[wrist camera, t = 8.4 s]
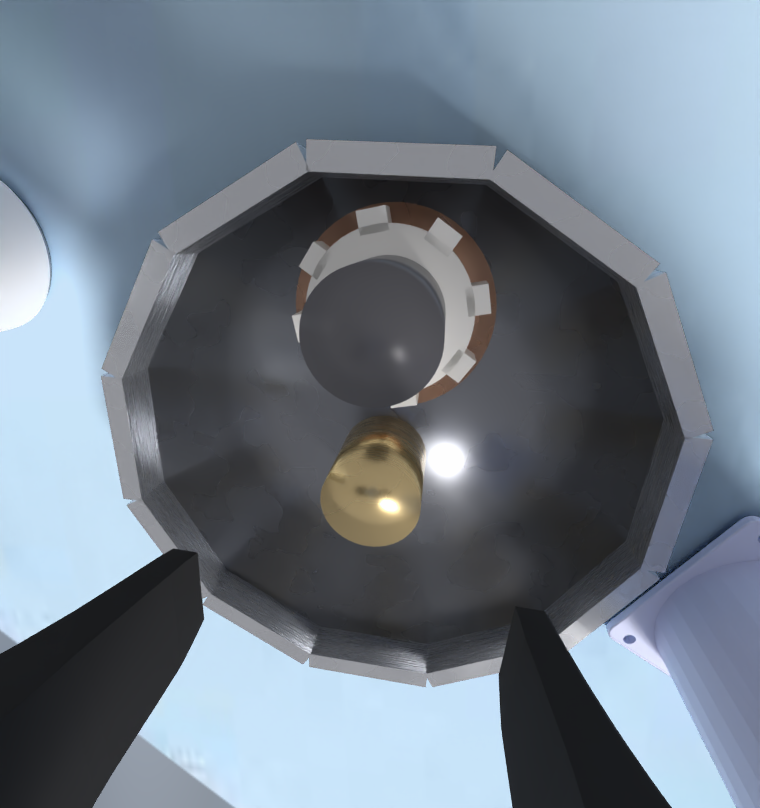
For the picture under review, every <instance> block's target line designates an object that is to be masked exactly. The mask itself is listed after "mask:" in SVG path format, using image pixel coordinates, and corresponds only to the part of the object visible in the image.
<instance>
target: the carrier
mask: <svg viewBox="0 0 760 808" xmlns="http://www.w3.org/2000/svg"><path fill="white" fill-rule="evenodd" d="M495 153H496V146H484V145H456V144H428V143H400V142H372V141H344V140H316V139H306V148H305V147H304V146H302V145H300V144H298V143H297V142H295V143H294V144H292V145H291V146H289V147H287V148H286V149H284V150H283V151H281V152H280V153H278V154H277V155H275V156H274V157H272V158H271V159H269V160H268V161H266V162H264V163H263V164H261V165H260V166H258V167H257V168H255V169H254V170H252V171H251V172H249V173H248V174H246V175H245V176H243V177H241V178H240V179H238V180H237V181H235V182H234V183H232V184H231V185H229V186H228V187H226V188H225V189H223V190H222V191H220V192H218V193H217V194H215V195H214V196H212V197H211V198H209V199H208V200H206V201H205V202H203V203H202V204H200V205H199V206H197V207H195V208H194V209H192V210H191V211H189V212H188V213H186V214H185V215H183V216H182V217H180V218H179V219H177V220H176V221H174V222H173V223H171V224H169V225H168V226H166V227H165V228H163V229H162V230H160V231H159V232H158V233H159V235H160V237H161V238H162V239H152V241H151V244H150V246H149V249H148V251H147V254H146V256H145V259H144V261H143V264H142V267H141V269H140V272H139V274H138V277H137V279H136V282H135V284H134V287H133V289H132V292H131V295H130V297H129V300H128V302H127V305H126V307H125V310H124V312H123V315H122V318H121V320H120V323H119V325H118V328H117V330H116V333H115V335H114V338H113V340H112V343H111V346H110V348H109V351H108V353H107V356H106V358H105V361H104V363H103V366H102V369H103V370H105V371H106V372H108V373H107V374H105V375H102V376H101V379H102V385H103V390H104V395H105V401H106V406H107V412H108V417H109V422H110V428H111V433H112V439H113V444H114V450H115V455H116V460H117V466H118V471H119V477H120V482H121V487H122V493H123V498H124V499H130V500H132V501H131V502H130V503H128V504H127V506H128V508H129V509H130V510H131V512H132V513H133V514H134V516H135V517H136V518H137V520H138V521H139V522H140V524H141V525H142V526H143V528H144V529H145V530H146V532H147V533H148V535H149V536H150V537H151V539H152V540H153V541H154V543H155V544H156V545H157V547H158V548H159V549H160V551H161V552H162V553H163V554H165V553H166V552H168V551H170V550H171V549H173V548H174V549H180V550H186V551H192V552H197V553H198V562H199V572H200V583H201V593H202V598H205V597H207V599H206V600H205V602H204V603H203V605H204V606H206V607H208V608H209V609H211V610H213V611H214V612H216V613H218V614H219V615H221V616H223V617H224V618H226V619H228V620H229V621H231V622H233V623H234V624H236V625H238V626H239V627H241V628H243V629H244V630H246V631H248V632H249V633H251V634H253V635H254V636H256V637H258V638H259V639H261V640H263V641H265V642H266V643H268V644H270V645H271V646H273V647H275V648H276V649H278V650H280V651H281V652H283V653H285V654H286V655H288V656H290V657H291V658H293V659H295V660H296V661H298V662H300V663H301V664H304V663H305V661H306V660H307V659H308V658H309V667H313V668H319V669H325V670H330V671H336V672H342V673H348V674H353V675H359V676H365V677H370V678H376V679H382V680H388V681H393V682H399V683H405V684H411V685H416V686H422V687H426V680H427V679H428V680H429V682H430V684H431V685H432V687H435V686H440V685H444V684H449V683H454V682H458V681H463V680H468V679H472V678H477V677H482V676H486V675H491V674H496V673H499V671H500V667H501V663H502V659H503V655H504V651H505V646H506V642H507V638H508V634H509V630H510V626H511V622H512V618H513V613H514V609H515V606H517V607H523V608H529V609H535V610H540V611H545V612H546V614H547V615H548V616H549V618H550V620H551V621H552V623H553V625H554V627H555V629H556V630H557V632H558V634H559V636H560V638H561V639H562V641H563V643H564V645H565V646H566V648H567V650H568V651H569V650H570V649H571V648H572V647H574V646H575V645H576V644H578V643H579V642H580V641H581V640H583V639H584V638H585V637H587V636H588V635H589V634H590V633H592V632H593V631H594V630H596V629H597V628H598V627H599V626H601V625H602V624H603V623H604V622H606V621H607V620H608V619H610V618H611V617H612V616H613V615H615V614H616V613H617V612H619V611H620V610H621V609H622V608H624V607H625V606H626V605H628V604H629V603H630V602H631V601H633V600H634V599H635V598H636V597H638V596H639V595H640V594H642V593H643V592H644V591H645V590H647V589H648V588H649V587H651V586H652V585H653V584H654V583H656V582H657V581H658V580H660V579H659V577H658V575H657V574H656V572H662V573H665V571H666V568H667V565H668V563H669V560H670V557H671V554H672V552H673V549H674V546H675V543H676V541H677V538H678V535H679V532H680V530H681V527H682V524H683V521H684V519H685V516H686V513H687V510H688V508H689V505H690V502H691V499H692V497H693V494H694V491H695V488H696V486H697V483H698V480H699V477H700V475H701V472H702V469H703V466H704V464H705V461H706V458H707V455H708V453H709V450H710V447H711V444H712V442H713V439H712V438H710V437H709V436H708V435H707V434H705V433H708V432H711V431H714V430H713V427H712V424H711V420H710V417H709V414H708V410H707V407H706V404H705V400H704V397H703V394H702V390H701V387H700V384H699V380H698V377H697V374H696V371H695V367H694V364H693V361H692V357H691V354H690V351H689V347H688V344H687V341H686V337H685V334H684V331H683V327H682V324H681V321H680V317H679V314H678V311H677V307H676V304H675V301H674V297H673V294H672V291H671V287H670V284H669V281H668V278H667V274H666V272H661V271H656V270H655V268H656V267H657V266H658V265H659V264H660V263H658V262H657V261H656V260H654V259H653V258H652V257H650V256H649V255H648V254H646V253H645V252H644V251H642V250H641V249H640V248H638V247H637V246H636V245H634V244H633V243H632V242H630V241H629V240H628V239H626V238H625V237H623V236H622V235H621V234H619V233H618V232H617V231H615V230H614V229H613V228H611V227H610V226H609V225H607V224H606V223H605V222H603V221H602V220H601V219H599V218H598V217H597V216H595V215H594V214H593V213H591V212H590V211H589V210H587V209H586V208H585V207H583V206H582V205H581V204H579V203H578V202H577V201H575V200H574V199H573V198H571V197H570V196H569V195H567V194H566V193H565V192H563V191H562V190H561V189H559V188H558V187H557V186H555V185H554V184H553V183H551V182H550V181H549V180H547V179H546V178H545V177H543V176H542V175H540V174H539V173H538V172H536V171H535V170H534V169H532V168H531V167H530V166H528V165H527V164H526V163H524V162H523V161H522V160H520V159H519V158H518V157H516V156H515V155H514V154H512V153H511V152H510V151H508V150H507V151H506V153H505V154H504V155H503V157H502V158H501V160H500V161H499V163H498V164H497V166H496V167H495V169H493V168H494V161H495ZM382 205H387V206H389V207H390V213H391V219H392V223H400V224H406V225H412V226H415V227H418V228H421V229H424V230H426V231H429V230H430V228H431V227H432V225H433V224H434V222H435V221H436V219H437V218H440V219H441V220H442V221H444V222H445V223H446V224H447V225H449V226H450V227H451V228H453V229H454V230H455V231H457V232H458V233H459V234H460V235H462V236H463V237H462V238H461V239H460V241H459V242H458V243H457V245H456V246H455V248H454V249H453V251H454V252H455V254H456V255H457V256H458V258H459V259H460V261H461V262H462V264H463V265H464V268H465V270H466V272H467V274H468V276H469V279H470V282H471V283H473V282H479V281H485V280H486V281H487V282H488V284H489V293H490V304H491V314H485V315H478V316H475V322H474V327H473V332H472V336H471V338H470V341H469V344H468V346H467V349H469V350H470V351H471V352H473V353H474V354H475V358H476V363H475V364H474V365H473V366H472V368H471V369H470V370H469V371H468V372H467V373H466V375H465V376H464V377H463V378H462V379H461V381H460V382H459V383H458V382H456V381H455V380H454V379H452V378H451V377H449V376H448V375H447V374H446V375H445V376H444V377H443V378H441V379H440V380H438V381H437V382H435V383H434V384H432V385H430V386H428V387H426V388H424V389H422V390H421V391H420V392H419V397H418V403H417V405H414V406H406V407H397V408H391V406H388V407H382V408H368V407H361V406H356V405H353V404H350V403H347V402H345V401H343V400H340V399H339V398H337V397H335V396H334V395H332V394H331V393H329V392H328V391H327V390H326V389H324V388H323V387H322V386H321V385H320V384H319V383H318V381H317V380H316V379H315V378H314V376H313V375H312V373H311V372H310V370H309V368H308V367H307V365H306V362H305V360H304V358H303V354H302V351H301V347H300V342H298V339H297V335H296V331H295V327H294V323H293V318H292V315H294V314H296V313H298V312H300V311H302V310H303V307H304V305H305V302H306V296H307V290H308V286H309V282H310V279H311V277H312V276H311V275H310V274H308V273H307V272H306V271H304V270H303V269H301V268H300V267H299V265H300V263H301V262H302V260H303V258H304V257H305V255H306V253H307V252H308V250H309V248H310V246H311V245H312V243H313V242H314V241H323V242H324V243H325V244H327V245H328V246H330V247H331V246H332V245H333V244H334V243H336V242H337V241H338V240H339V239H340V238H342V237H343V236H345V235H347V234H348V233H350V232H352V231H354V230H357V229H359V228H358V222H357V217H356V211H358V210H363V209H368V208H372V207H377V206H382Z"/></svg>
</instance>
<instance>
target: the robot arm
mask: <svg viewBox="0 0 760 808" xmlns="http://www.w3.org/2000/svg"><path fill="white" fill-rule="evenodd" d="M759 536H760V517H757V516H747V517H744V518H743V519H741V520H739V521H738V522H737V523H735V524H734V525H733V526H732V527H730V528H729V529H728V530H726V531H725V532H724V533H723V534H721V535H720V536H719V537H717V538H716V539H715V540H714V541H712V542H711V543H710V544H708V545H707V546H706V547H705V548H703V549H702V550H701V551H699V552H698V553H697V554H696V555H694V556H693V557H692V558H690V559H689V560H688V561H687V562H685V563H684V564H683V565H681V566H680V567H679V568H678V569H676V570H675V571H674V572H672V573H671V574H670V575H669V576H667V577H666V578H665V579H663V580H662V581H661V582H660V583H658V584H657V585H656V586H654V587H653V588H652V589H651V590H649V591H648V592H647V593H645V594H644V595H643V596H642V597H640V598H639V599H638V600H636V601H635V602H634V603H633V604H631V605H630V606H629V607H627V608H626V609H625V610H624V611H622V612H621V613H620V614H618V615H617V616H616V617H615V618H613V619H612V620H611V621H609V623H608V624H607V626H606V629H607V632H608V634H609V637H610V638H611V639H613V640H614V641H616V642H617V643H619V644H620V645H622V646H624V647H625V648H627V649H628V650H630V651H631V652H633V653H634V654H636V655H637V656H639V657H640V658H642V659H644V660H645V661H647V662H648V663H650V664H651V665H653V666H654V667H656V668H657V669H659V670H661V671H662V672H664V673H665V674H667V675H668V676H670V677H671V678H672V679H673V681H674V683H675V685H676V687H677V690H678V692H679V694H680V696H681V698H682V700H683V702H684V704H685V706H686V708H687V710H688V712H689V714H690V716H691V718H692V720H693V722H694V724H695V726H696V728H697V730H698V732H699V734H700V736H701V738H702V740H703V742H704V744H705V746H706V748H707V750H708V752H709V754H710V756H711V758H712V760H713V762H714V764H715V766H716V768H717V770H718V772H719V774H720V776H721V778H722V780H723V782H724V784H725V786H726V788H727V790H728V792H729V794H730V796H731V798H732V800H733V802H734V804H735V806H736V808H760V538H758V537H759ZM203 620H204V614H203V604H202V593H201V583H200V572H199V562H198V553H197V552H192V551H186V550H180V549H174V548H173V549H171V550H170V551H168V552H166V553H165V554H163V555H161V556H160V557H158V558H157V559H155V560H154V561H152V562H150V563H149V564H147V565H146V566H144V567H143V568H141V569H140V570H138V571H136V572H135V573H133V574H132V575H130V576H129V577H127V578H126V579H124V580H123V581H121V582H119V583H118V584H116V585H115V586H113V587H112V588H110V589H108V590H107V591H105V592H104V593H102V594H101V595H99V596H97V597H96V598H94V599H93V600H91V601H89V602H88V603H86V604H85V605H83V606H82V607H80V608H78V609H77V610H75V611H74V612H72V613H70V614H68V615H67V616H65V617H63V618H62V619H60V620H58V621H57V622H55V623H53V624H51V625H50V626H48V627H46V628H45V629H43V630H41V631H40V632H38V633H36V634H34V635H33V636H31V637H29V638H28V639H26V640H24V641H23V642H21V643H19V644H17V645H16V646H14V647H12V648H10V649H9V650H7V651H5V652H3V653H1V654H0V808H92V807H93V806H94V804H95V802H96V800H97V798H98V797H99V795H100V793H101V791H102V790H103V788H104V787H105V785H106V783H107V782H108V780H109V778H110V776H111V775H112V773H113V772H114V770H115V769H116V767H117V765H118V764H119V762H120V761H121V759H122V757H123V756H124V755H125V753H126V751H127V750H128V748H129V747H130V745H131V744H132V742H133V741H134V739H135V737H136V736H137V734H138V733H139V731H140V730H141V728H142V726H143V725H144V723H145V722H146V720H147V719H148V717H149V716H150V714H151V712H152V711H153V709H154V708H155V706H156V705H157V703H158V702H159V700H160V698H161V697H162V695H163V694H164V692H165V691H166V689H167V687H168V686H169V684H170V683H171V681H172V679H173V678H174V676H175V675H176V673H177V671H178V670H179V668H180V667H181V665H182V663H183V661H184V659H185V657H186V655H187V653H188V651H189V649H190V647H191V645H192V643H193V641H194V639H195V637H196V635H197V633H198V631H199V629H200V627H201V625H202V622H203ZM627 635H630V636H627ZM499 692H500V714H501V730H502V737H503V744H504V751H505V758H506V765H507V772H508V779H509V786H510V793H511V800H512V806H513V808H672V807H671V806H670V805H669V803H668V802H667V801H666V799H665V798H664V797H663V795H662V794H661V792H660V791H659V790H658V788H657V787H656V786H655V784H654V783H653V781H652V780H651V779H650V777H649V776H648V774H647V773H646V771H645V770H644V769H643V767H642V766H641V764H640V763H639V761H638V760H637V759H636V757H635V756H634V754H633V753H632V751H631V750H630V748H629V747H628V746H627V744H626V743H625V741H624V740H623V738H622V737H621V735H620V734H619V732H618V731H617V729H616V728H615V726H614V724H613V723H612V721H611V720H610V718H609V717H608V715H607V714H606V712H605V710H604V709H603V707H602V706H601V704H600V703H599V701H598V699H597V698H596V696H595V695H594V693H593V692H592V690H591V688H590V687H589V685H588V683H587V682H586V680H585V679H584V677H583V675H582V674H581V672H580V670H579V669H578V667H577V665H576V663H575V662H574V660H573V658H572V657H571V655H570V653H569V652H568V650H567V648H566V646H565V645H564V643H563V641H562V639H561V638H560V636H559V634H558V632H557V630H556V629H555V627H554V625H553V623H552V621H551V620H550V618H549V616H548V615H547V614H546V612H545V611H540V610H535V609H529V608H523V607H517V606H515V609H514V613H513V618H512V622H511V626H510V630H509V634H508V638H507V642H506V646H505V651H504V655H503V659H502V663H501V667H500V671H499Z"/></svg>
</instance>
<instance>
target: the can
mask: <svg viewBox="0 0 760 808" xmlns="http://www.w3.org/2000/svg"><path fill="white" fill-rule="evenodd" d="M50 284H51V260H50V254H49V250H48V246H47V243H46V240H45V238H44V235H43V233H42V231H41V229H40V227H39V225H38V223H37V221H36V220H35V218H34V216H33V215H32V213H31V212H30V211H29V209H28V208H27V207H26V206H25V204H24V203H23V202H22V201H21V200H20V199H19V198H18V197H17V195H16V194H15V193H14V192H13V191H12V190H11V189H10V188H9V187H8V186H7V185H5V184H4V183H3V182H2V181H1V180H0V332H2V331H6V330H10V329H13V328H16V327H19V326H22V325H24V324H26V323H27V322H29V321H30V320H32V319H33V318H34V317H35V316H36V315H37V314H38V312H39V311H40V310H41V308H42V306H43V304H44V302H45V300H46V297H47V295H48V292H49V288H50Z"/></svg>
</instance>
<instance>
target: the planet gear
mask: <svg viewBox="0 0 760 808" xmlns="http://www.w3.org/2000/svg"><path fill="white" fill-rule="evenodd" d="M356 217H357V222H358V228H359V229H357V230H354V231H352V232H350V233H348V234H347V235H345V236H343V237H342V238H340V239H339V240H338V241H337V242H336V243H334V244H333V245H332V246H331V247H330V246H328V245H327V244H325V243H324V242H323V241H314V242H313V243H312V245H311V246H310V248H309V250H308V252H307V253H306V255H305V257H304V258H303V260H302V262H301V263H300V265H299V267H300V268H301V269H303V270H304V271H306V272H307V273H308V274H310V275H311V276H312V277H311V279H310V282H309V286H308V290H307V296H306V302H305V305H304V307H303V310H302V311H300V312H298V313H296V314H294V315H292V318H293V323H294V327H295V331H296V335H297V339H298V342H300V347H301V351H302V354H303V358H304V360H305V362H306V365H307V367H308V368H309V370H310V372H311V373H312V375H313V376H314V378H315V379H316V380H317V381H318V383H319V384H320V385H321V386H322V387H323V388H324V389H326V390H327V391H328V392H329V393H331V394H332V395H334V396H335V397H337V398H339V399H340V400H343V401H345V402H347V403H350V404H353V405H356V406H361V407H368V408H382V407H388V406H391V408H397V407H406V406H414V405H417V403H418V397H419V392H420V391H421V390H422V389H424V388H426V387H428V386H430V385H432V384H434V383H435V382H437V381H438V380H440V379H441V378H443V377H444V376H445V375H446V374H447V375H448V376H449V377H451V378H452V379H454V380H455V381H456V382H458V383H459V382H460V381H461V379H462V378H463V377H464V376H465V375H466V373H467V372H468V371H469V370H470V369H471V368H472V366H473V365H474V364H475V363H476V358H475V354H474V353H473V352H471V351H470V350H469V349H467V346H468V344H469V341H470V338H471V336H472V332H473V327H474V322H475V316H478V315H485V314H491V304H490V293H489V284H488V282H487V281H486V280H485V281H479V282H473V283H471V282H470V279H469V276H468V274H467V272H466V270H465V268H464V265H463V264H462V262H461V261H460V259H459V258H458V256H457V255H456V254H455V252H454V251H453V249H454V248H455V246H456V245H457V243H458V242H459V241H460V239H461V238H462V237H463V236H462V235H460V234H459V233H458V232H457V231H455V230H454V229H453V228H451V227H450V226H449V225H447V224H446V223H445V222H444V221H442V220H441V219H440V218H437V219H436V221H435V222H434V224H433V225H432V227H431V228H430V230H429V231H426V230H424V229H421V228H418V227H415V226H412V225H406V224H400V223H392V219H391V213H390V207H389V206H387V205H382V206H377V207H372V208H368V209H363V210H358V211H356Z"/></svg>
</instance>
